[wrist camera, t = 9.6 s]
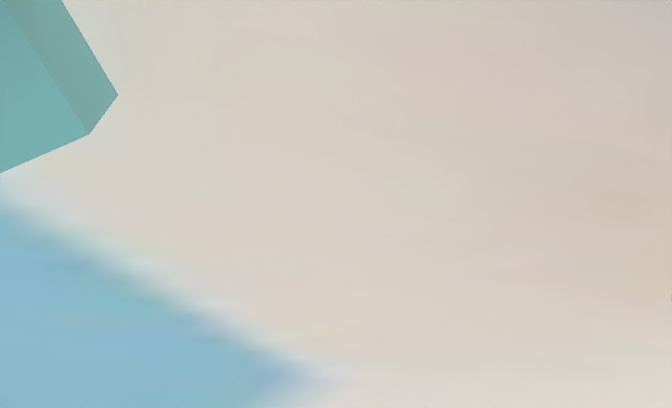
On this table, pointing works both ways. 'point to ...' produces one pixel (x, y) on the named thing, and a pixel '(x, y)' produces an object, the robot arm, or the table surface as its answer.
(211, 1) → the table surface
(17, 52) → the teal plinth
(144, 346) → the table surface
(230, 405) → the table surface
